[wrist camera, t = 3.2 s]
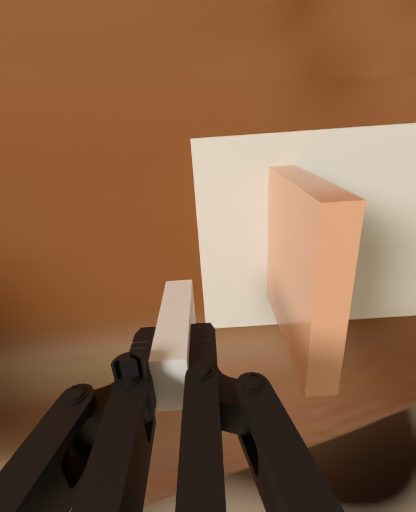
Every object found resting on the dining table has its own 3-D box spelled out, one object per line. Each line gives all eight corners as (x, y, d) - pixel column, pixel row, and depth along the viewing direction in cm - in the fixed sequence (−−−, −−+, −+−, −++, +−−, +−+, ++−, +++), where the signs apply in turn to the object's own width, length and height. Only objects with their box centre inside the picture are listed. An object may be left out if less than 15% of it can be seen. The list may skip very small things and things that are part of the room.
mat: (205, 325, 32) (206, 328, 31) (190, 138, 24) (190, 138, 24) (420, 311, 31) (424, 314, 31) (469, 118, 24) (475, 119, 24)
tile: (266, 294, 30) (304, 397, 19) (268, 166, 25) (321, 202, 14) (288, 293, 30) (339, 395, 19) (294, 164, 25) (367, 199, 14)
